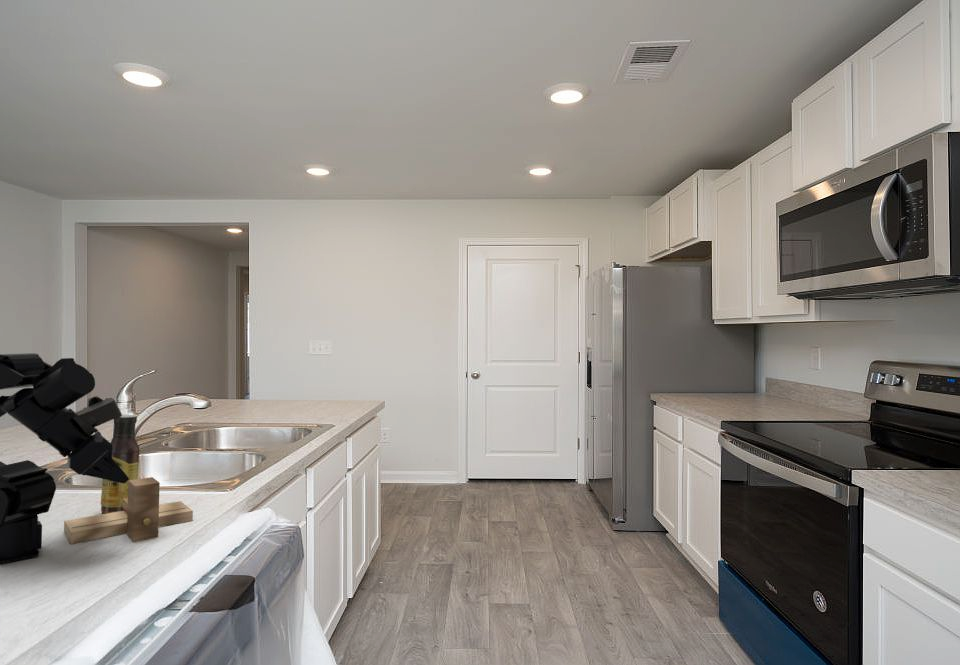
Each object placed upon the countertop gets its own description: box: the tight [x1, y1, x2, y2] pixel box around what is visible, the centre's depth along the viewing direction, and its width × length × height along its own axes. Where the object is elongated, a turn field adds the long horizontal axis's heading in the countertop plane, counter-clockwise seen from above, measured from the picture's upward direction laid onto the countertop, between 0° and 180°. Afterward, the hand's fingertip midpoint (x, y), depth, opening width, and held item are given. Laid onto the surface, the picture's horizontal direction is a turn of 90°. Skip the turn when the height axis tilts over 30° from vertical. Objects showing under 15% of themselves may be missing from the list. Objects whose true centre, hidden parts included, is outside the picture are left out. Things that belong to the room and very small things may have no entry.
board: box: [63, 500, 194, 545], centre depth 110 cm, size 20×8×2 cm, turn 133°
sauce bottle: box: [100, 414, 141, 514], centre depth 118 cm, size 7×6×20 cm
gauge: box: [123, 476, 161, 543], centre depth 109 cm, size 4×15×10 cm, turn 43°
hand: (122, 475), depth 103 cm, fingers open, 9 cm apart
